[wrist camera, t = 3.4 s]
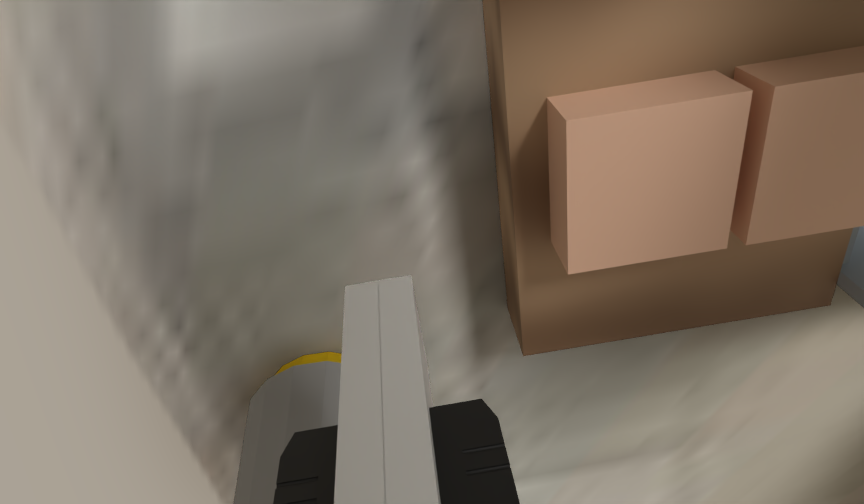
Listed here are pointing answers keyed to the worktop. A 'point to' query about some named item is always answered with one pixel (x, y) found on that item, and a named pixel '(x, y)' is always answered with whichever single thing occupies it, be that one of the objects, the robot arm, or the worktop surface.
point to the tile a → (645, 169)
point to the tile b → (802, 147)
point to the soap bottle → (285, 419)
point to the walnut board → (625, 64)
